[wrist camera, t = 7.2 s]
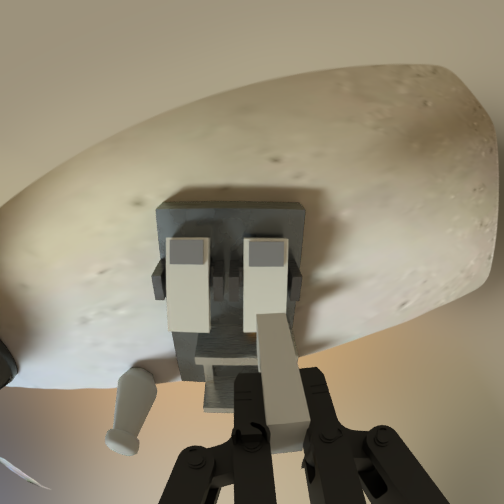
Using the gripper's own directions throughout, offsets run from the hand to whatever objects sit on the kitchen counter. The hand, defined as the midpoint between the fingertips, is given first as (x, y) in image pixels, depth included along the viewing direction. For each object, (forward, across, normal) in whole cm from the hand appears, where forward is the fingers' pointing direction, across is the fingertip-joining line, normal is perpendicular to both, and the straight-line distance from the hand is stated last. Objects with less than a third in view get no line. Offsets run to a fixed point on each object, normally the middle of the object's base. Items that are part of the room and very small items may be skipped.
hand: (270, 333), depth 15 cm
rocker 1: (+9, -6, -2) cm, 11 cm away
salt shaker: (+14, -17, -21) cm, 30 cm away
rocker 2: (+9, 0, -2) cm, 10 cm away
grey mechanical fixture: (+14, -3, -7) cm, 16 cm away
